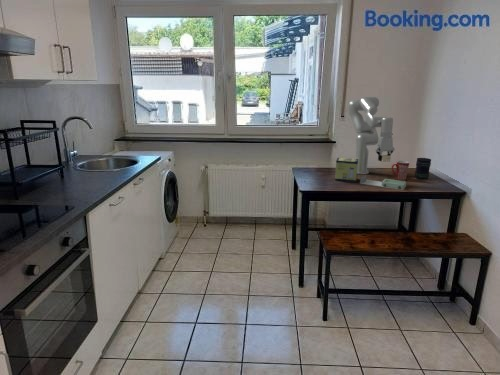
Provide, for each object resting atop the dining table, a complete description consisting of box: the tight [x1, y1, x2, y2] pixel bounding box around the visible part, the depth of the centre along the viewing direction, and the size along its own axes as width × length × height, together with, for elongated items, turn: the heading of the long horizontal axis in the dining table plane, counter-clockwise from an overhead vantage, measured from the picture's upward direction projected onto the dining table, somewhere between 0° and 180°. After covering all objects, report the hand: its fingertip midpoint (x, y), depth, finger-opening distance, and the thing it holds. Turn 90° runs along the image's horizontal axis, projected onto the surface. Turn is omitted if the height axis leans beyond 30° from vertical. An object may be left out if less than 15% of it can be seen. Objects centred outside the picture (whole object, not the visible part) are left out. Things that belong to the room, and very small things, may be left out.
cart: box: [381, 178, 407, 190], centre depth 238 cm, size 14×12×3 cm
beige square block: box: [377, 154, 391, 163], centre depth 244 cm, size 6×6×4 cm
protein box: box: [334, 157, 358, 183], centre depth 254 cm, size 10×16×16 cm
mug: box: [391, 160, 411, 181], centre depth 255 cm, size 13×9×14 cm
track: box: [359, 174, 407, 191], centre depth 242 cm, size 30×12×4 cm, turn 56°
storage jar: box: [414, 157, 432, 181], centre depth 257 cm, size 10×10×15 cm
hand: (384, 160), depth 244 cm, fingers closed on beige square block, 6 cm apart
